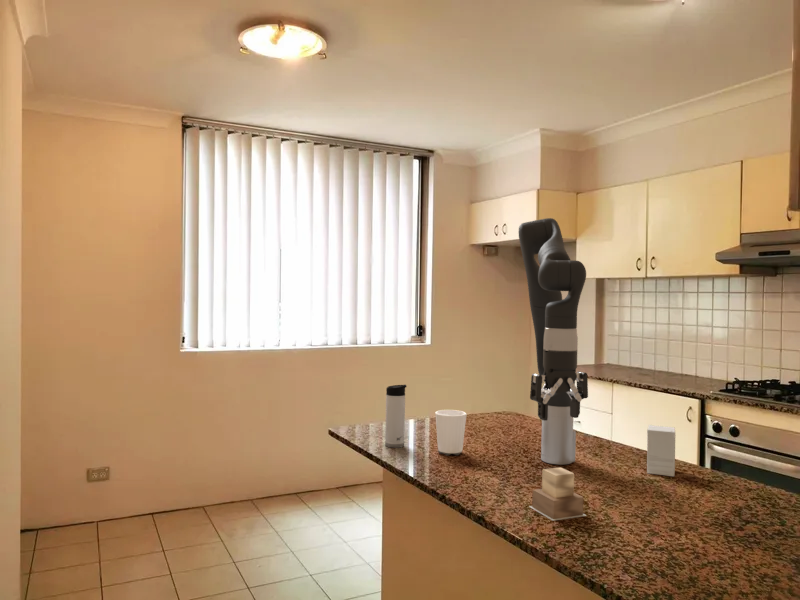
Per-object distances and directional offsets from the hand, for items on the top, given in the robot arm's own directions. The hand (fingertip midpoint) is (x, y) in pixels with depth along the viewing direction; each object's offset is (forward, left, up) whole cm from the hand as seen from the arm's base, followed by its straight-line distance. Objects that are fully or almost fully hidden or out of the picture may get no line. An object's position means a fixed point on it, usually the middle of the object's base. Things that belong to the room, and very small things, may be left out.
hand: (558, 418), depth 138 cm
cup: (-1, -55, -22) cm, 60 cm away
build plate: (-3, -2, -22) cm, 22 cm away
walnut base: (0, +1, -21) cm, 21 cm away
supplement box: (-50, -18, -22) cm, 57 cm away
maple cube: (0, +1, -17) cm, 17 cm away
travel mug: (+12, -69, -22) cm, 74 cm away
